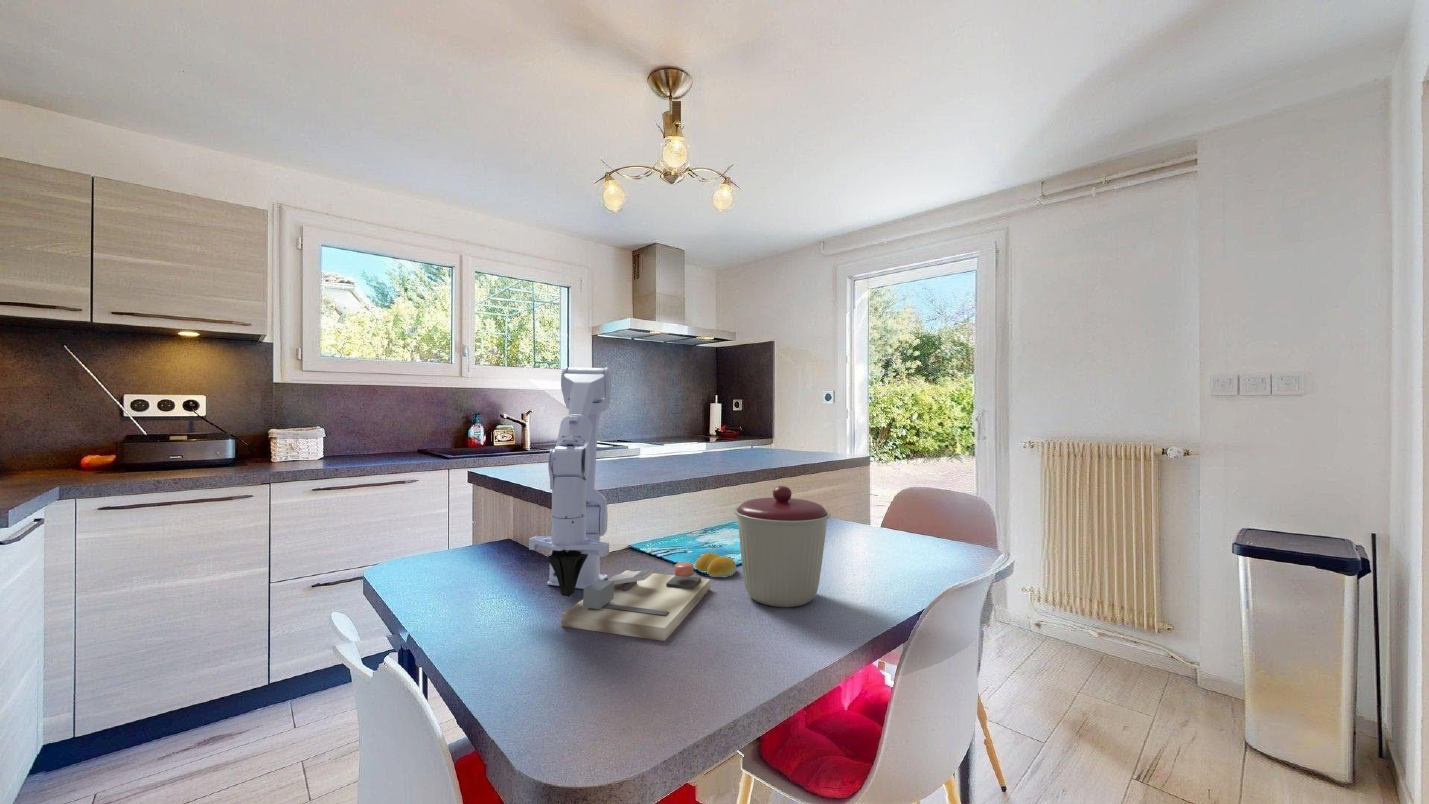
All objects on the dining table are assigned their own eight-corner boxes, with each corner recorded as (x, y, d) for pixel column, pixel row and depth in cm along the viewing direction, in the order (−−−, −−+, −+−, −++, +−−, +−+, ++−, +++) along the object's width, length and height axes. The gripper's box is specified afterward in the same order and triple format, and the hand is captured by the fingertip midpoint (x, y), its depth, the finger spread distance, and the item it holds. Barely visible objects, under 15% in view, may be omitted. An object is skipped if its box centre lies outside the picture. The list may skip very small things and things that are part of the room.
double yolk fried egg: (721, 582, 111) (721, 562, 111) (688, 573, 116) (688, 554, 116) (744, 572, 117) (745, 554, 117) (712, 564, 123) (712, 546, 123)
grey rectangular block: (583, 606, 89) (583, 588, 89) (597, 596, 94) (598, 579, 94) (599, 609, 88) (599, 590, 88) (613, 598, 93) (613, 581, 93)
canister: (824, 584, 110) (825, 480, 110) (835, 619, 92) (837, 495, 92) (735, 580, 111) (737, 478, 111) (729, 614, 93) (731, 492, 93)
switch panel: (561, 626, 87) (561, 606, 87) (625, 579, 110) (626, 564, 110) (664, 641, 82) (665, 620, 82) (709, 589, 105) (710, 573, 105)
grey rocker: (605, 586, 100) (604, 581, 100) (615, 579, 103) (614, 574, 103) (644, 579, 97) (643, 575, 97) (653, 573, 101) (652, 568, 101)
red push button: (671, 575, 101) (671, 567, 101) (678, 570, 105) (678, 561, 105) (689, 577, 100) (690, 569, 100) (695, 571, 104) (696, 563, 104)
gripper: (518, 516, 91) (517, 597, 91) (595, 523, 87) (594, 607, 87) (542, 509, 98) (541, 583, 98) (615, 514, 94) (614, 592, 94)
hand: (567, 594), depth 93 cm, fingers closed
